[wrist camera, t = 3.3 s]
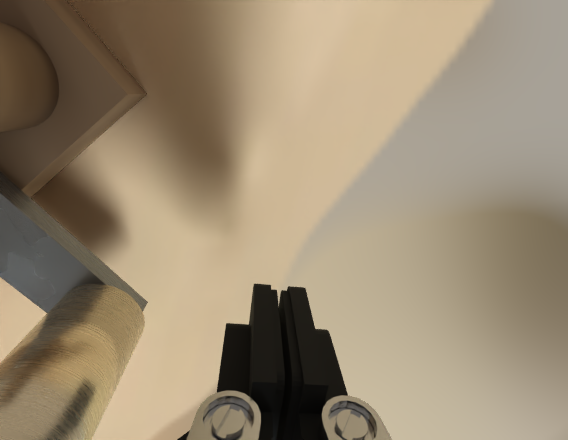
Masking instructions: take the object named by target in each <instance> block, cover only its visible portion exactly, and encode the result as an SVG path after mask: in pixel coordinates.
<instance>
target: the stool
mask: <svg viewBox="0 0 568 440" xmlns="http://www.w3.org/2000/svg"><path fill="white" fill-rule="evenodd" d="M146 94H147V93H146V92H145V91H144V90H143V89H142V88H141V86H140V85H139V84H138V83H137V82H136V81H135V80H134V78H133V77H132V76H131V75H130V74H129V73H128V71H127V70H126V69H125V68H124V67H123V66H122V65H121V63H120V62H119V61H118V60H117V59H116V58H115V56H114V55H113V54H112V53H111V52H110V51H109V50H108V48H107V47H106V46H105V45H104V44H103V43H102V41H101V40H100V39H99V38H98V37H97V36H96V35H95V33H94V32H93V31H92V30H91V29H90V28H89V26H88V25H87V24H86V23H85V22H84V21H83V20H82V18H81V17H80V16H79V15H78V14H77V13H76V11H75V10H74V9H73V8H72V7H71V6H70V5H69V3H68V2H67V1H66V0H0V172H2V173H3V174H4V175H5V176H6V177H7V178H8V179H10V180H11V181H12V182H13V183H14V184H15V185H16V186H17V187H19V188H20V189H21V190H22V191H23V192H24V193H25V194H26V195H28V196H29V197H30V198H31V197H32V196H33V195H34V194H35V193H36V192H37V191H38V190H40V189H41V188H42V187H43V186H44V185H45V184H46V183H47V182H49V181H50V180H51V179H52V178H53V177H54V176H55V175H56V174H58V173H59V172H60V171H61V170H62V169H63V168H64V167H65V166H67V165H68V164H69V163H70V162H71V161H72V160H73V159H74V158H76V157H77V156H78V155H79V154H80V153H81V152H82V151H83V150H85V149H86V148H87V147H88V146H89V145H90V144H91V143H92V142H94V141H95V140H96V139H97V138H98V137H99V136H100V135H101V134H103V133H104V132H105V131H106V130H107V129H108V128H109V127H110V126H111V125H113V124H114V123H115V122H116V121H117V120H118V119H119V118H120V117H122V116H123V115H124V114H125V113H126V112H127V111H128V110H129V109H131V108H132V107H133V106H134V105H135V104H136V103H137V102H138V101H140V100H141V99H142V98H143V97H144V96H145V95H146Z"/></svg>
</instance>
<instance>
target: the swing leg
mask: <svg viewBox="0 0 568 440" xmlns="http://www.w3.org/2000/svg"><path fill="white" fill-rule="evenodd" d="M0 277H1V278H2V279H4V280H5V281H6V282H8V283H9V284H10V285H11V286H13V287H14V288H15V289H17V290H18V291H19V292H20V293H22V294H23V295H24V296H26V297H27V298H28V299H30V300H31V301H32V302H33V303H35V304H36V305H37V306H39V307H40V308H41V309H42V310H44V311H45V312H46V313H47V314H46V315H45V316H44V317H43V319H42V320H41V321H40V322H39V323H38V324H37V325H36V326H35V327H34V328H33V329H32V330H31V331H30V332H29V333H28V334H27V335H26V336H25V338H24V339H23V340H22V341H21V342H20V343H19V344H18V345H17V346H16V347H15V348H14V349H13V350H12V351H11V352H10V353H9V354H8V355H7V356H6V358H5V359H4V360H3V361H2V362H1V363H0V440H91V439H92V437H93V435H94V433H95V431H96V429H97V427H98V425H99V423H100V421H101V419H102V416H103V414H104V412H105V410H106V408H107V406H108V404H109V402H110V400H111V398H112V396H113V393H114V391H115V389H116V387H117V385H118V383H119V381H120V379H121V377H122V375H123V373H124V370H125V368H126V366H127V364H128V362H129V360H130V358H131V356H132V354H133V352H134V350H135V347H136V345H137V343H138V341H139V339H140V337H141V335H142V333H143V330H144V323H145V322H144V315H143V310H144V308H145V306H146V304H147V303H148V302H147V301H146V300H145V299H144V298H143V297H141V296H140V295H139V294H138V293H137V292H136V291H135V290H134V289H132V288H131V287H130V286H129V285H128V284H127V283H126V282H125V281H123V280H122V279H121V278H120V277H119V276H118V275H117V274H115V273H114V272H113V271H112V270H111V269H110V268H109V267H108V266H106V265H105V264H104V263H103V262H102V261H101V260H100V259H99V258H97V257H96V256H95V255H94V254H93V253H92V252H91V251H90V250H88V249H87V248H86V247H85V246H84V245H83V244H82V243H81V242H79V241H78V240H77V239H76V238H75V237H74V236H73V235H72V234H70V233H69V232H68V231H67V230H66V229H65V228H64V227H62V226H61V225H60V224H59V223H58V222H57V221H56V220H55V219H53V218H52V217H51V216H50V215H49V214H48V213H47V212H46V211H44V210H43V209H42V208H41V207H40V206H39V205H38V204H37V203H35V202H34V201H33V200H32V199H31V198H30V197H29V196H28V195H26V194H25V193H24V192H23V191H22V190H21V189H20V188H19V187H17V186H16V185H15V184H14V183H13V182H12V181H11V180H10V179H8V178H7V177H6V176H5V175H4V174H3V173H2V172H0Z"/></svg>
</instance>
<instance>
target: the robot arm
mask: <svg viewBox="0 0 568 440" xmlns="http://www.w3.org/2000/svg"><path fill="white" fill-rule="evenodd" d="M178 440H392V439H391V437H390V435H389V433H388V431H387V429H386V427H385V426H384V424H383V422H382V420H381V418H380V417H379V415H378V414H377V412H376V411H375V410H374V409H373V408H372V407H371V406H370V405H369V404H368V403H366V402H364V401H362V400H360V399H359V398H355V397H352V396H348V394H347V391H346V387H345V384H344V381H343V377H342V374H341V370H340V367H339V364H338V360H337V357H336V354H335V350H334V347H333V343H332V340H331V337H330V334H329V331H328V330H322V329H315V326H314V322H313V318H312V315H311V310H310V306H309V301H308V297H307V293H306V289H305V288H302V287H288V289H287V291H283V290H282V291H281V295H280V302H279V307H278V296H277V290H271V285H264V284H254V287H253V295H252V303H251V312H250V320H249V325H245V324H230V323H226V329H225V336H224V344H223V351H222V358H221V366H220V373H219V380H218V387H217V393H215V394H213V395H211V396H209V397H208V398H207V399H206V400H205V401H204V402H203V403H201V405H200V407H199V409H198V411H197V413H196V416H195V418H194V421H193V424H192V426H191V429H190V431H188V432H187V433H186V434H184V435H183V436H182V437H180V438H179V439H178Z"/></svg>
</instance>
